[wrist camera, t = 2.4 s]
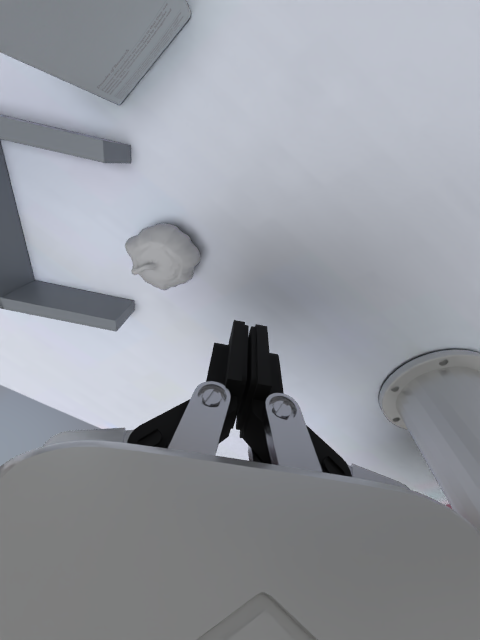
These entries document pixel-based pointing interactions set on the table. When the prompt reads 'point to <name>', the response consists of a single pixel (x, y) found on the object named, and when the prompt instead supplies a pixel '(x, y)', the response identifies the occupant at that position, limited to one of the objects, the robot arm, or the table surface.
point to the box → (9, 245)
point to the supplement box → (91, 39)
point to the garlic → (163, 255)
